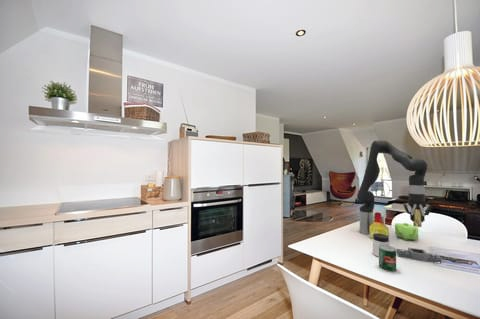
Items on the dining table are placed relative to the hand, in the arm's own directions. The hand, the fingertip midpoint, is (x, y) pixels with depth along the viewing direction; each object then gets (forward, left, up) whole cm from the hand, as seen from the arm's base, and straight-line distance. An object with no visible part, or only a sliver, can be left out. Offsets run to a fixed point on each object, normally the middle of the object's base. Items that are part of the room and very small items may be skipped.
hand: (417, 221), depth 128 cm
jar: (-19, -5, -22) cm, 30 cm away
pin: (0, 0, -3) cm, 3 cm away
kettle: (+1, +35, -22) cm, 41 cm away
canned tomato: (-18, -22, -22) cm, 36 cm away
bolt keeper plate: (0, 0, -22) cm, 22 cm away
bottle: (-17, +24, -22) cm, 37 cm away
